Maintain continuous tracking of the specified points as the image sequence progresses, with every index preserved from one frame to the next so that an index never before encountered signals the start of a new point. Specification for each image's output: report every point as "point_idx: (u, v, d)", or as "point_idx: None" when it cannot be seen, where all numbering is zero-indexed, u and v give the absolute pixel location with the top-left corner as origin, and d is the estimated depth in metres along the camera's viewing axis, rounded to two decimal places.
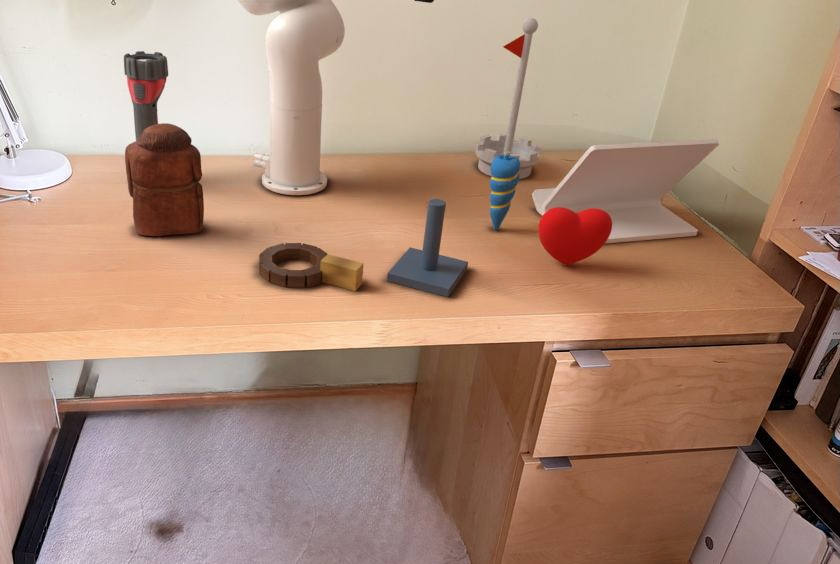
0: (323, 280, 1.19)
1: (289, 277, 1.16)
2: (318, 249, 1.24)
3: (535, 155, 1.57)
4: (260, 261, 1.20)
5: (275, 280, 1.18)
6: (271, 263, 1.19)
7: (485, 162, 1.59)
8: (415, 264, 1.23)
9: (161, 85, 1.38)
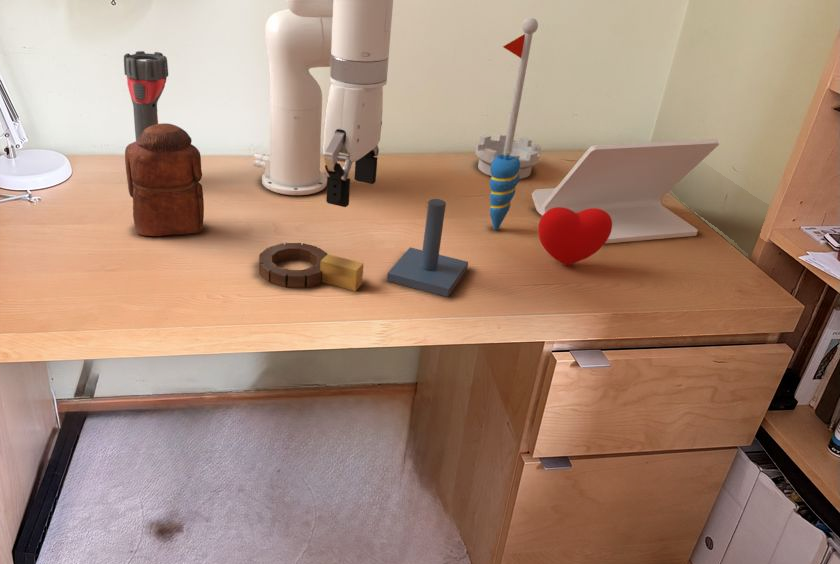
0: (323, 280, 1.19)
1: (289, 277, 1.16)
2: (318, 249, 1.24)
3: (535, 155, 1.57)
4: (260, 261, 1.20)
5: (275, 280, 1.18)
6: (271, 263, 1.19)
7: (485, 162, 1.59)
8: (415, 264, 1.23)
9: (161, 85, 1.38)
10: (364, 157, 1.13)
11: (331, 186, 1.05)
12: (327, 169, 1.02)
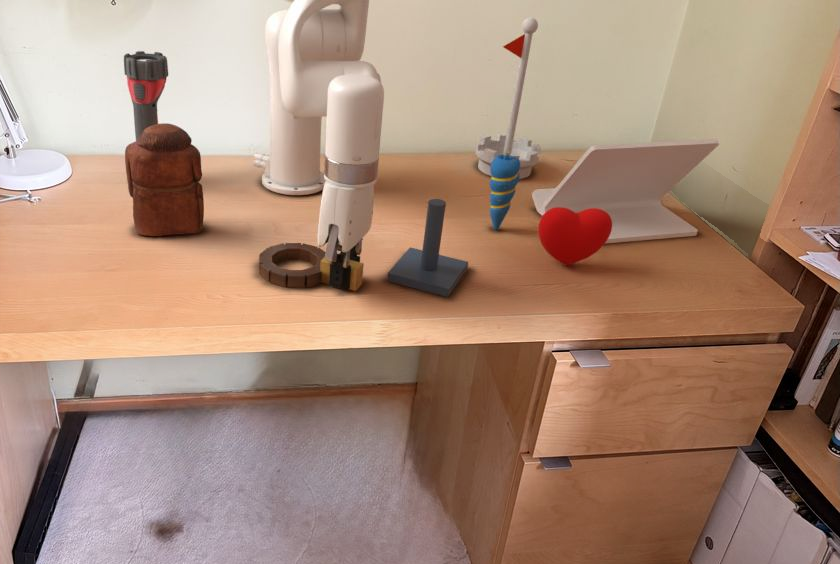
0: (323, 280, 1.19)
1: (289, 277, 1.16)
2: (318, 249, 1.24)
3: (535, 155, 1.57)
4: (260, 261, 1.20)
5: (275, 280, 1.18)
6: (271, 263, 1.19)
7: (485, 162, 1.59)
8: (415, 264, 1.23)
9: (161, 85, 1.38)
10: None
11: (333, 272, 1.16)
12: None
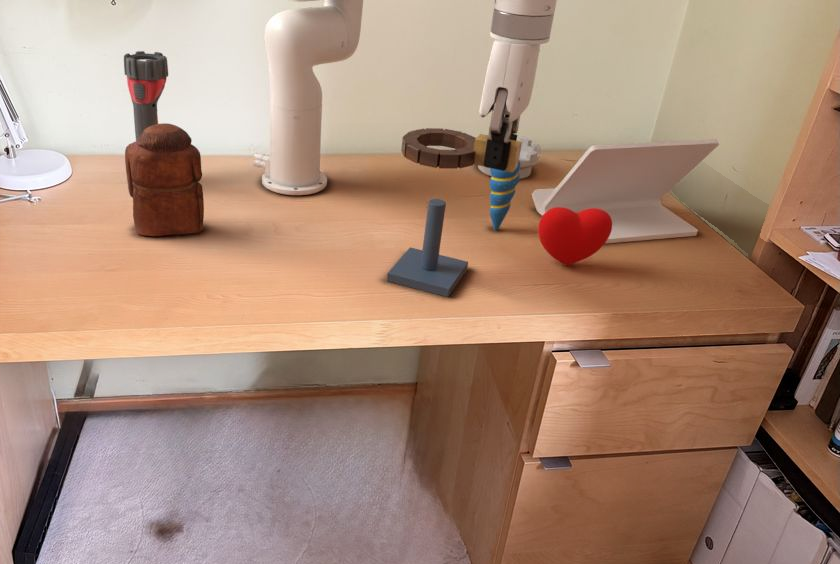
0: (476, 162, 1.09)
1: (442, 156, 1.06)
2: (463, 133, 1.14)
3: (535, 155, 1.57)
4: (406, 142, 1.09)
5: (425, 160, 1.07)
6: (418, 144, 1.09)
7: None
8: (415, 264, 1.23)
9: (161, 85, 1.38)
10: None
11: (491, 149, 1.06)
12: (492, 131, 1.03)
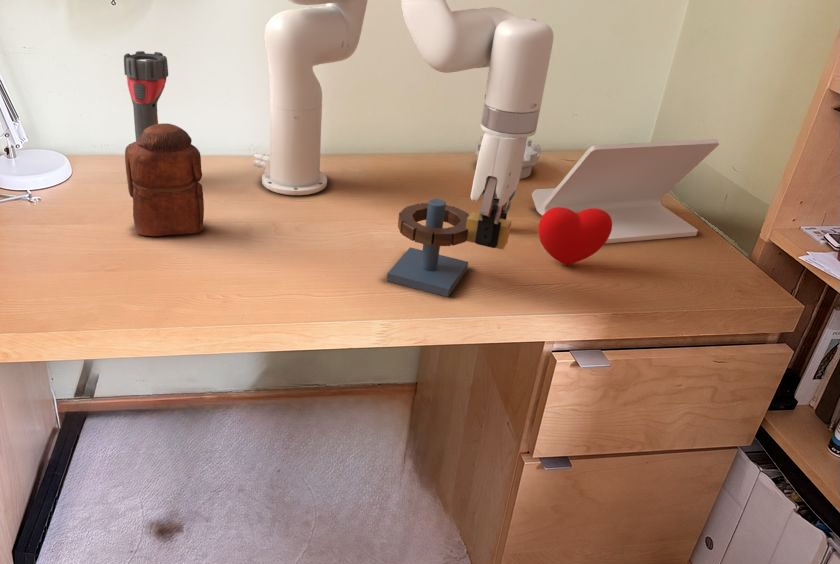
0: (468, 239, 1.15)
1: (436, 235, 1.13)
2: (456, 209, 1.20)
3: (535, 155, 1.57)
4: (402, 220, 1.16)
5: (420, 238, 1.14)
6: (414, 222, 1.16)
7: None
8: (415, 264, 1.23)
9: (161, 85, 1.38)
10: None
11: (482, 229, 1.12)
12: (483, 214, 1.09)
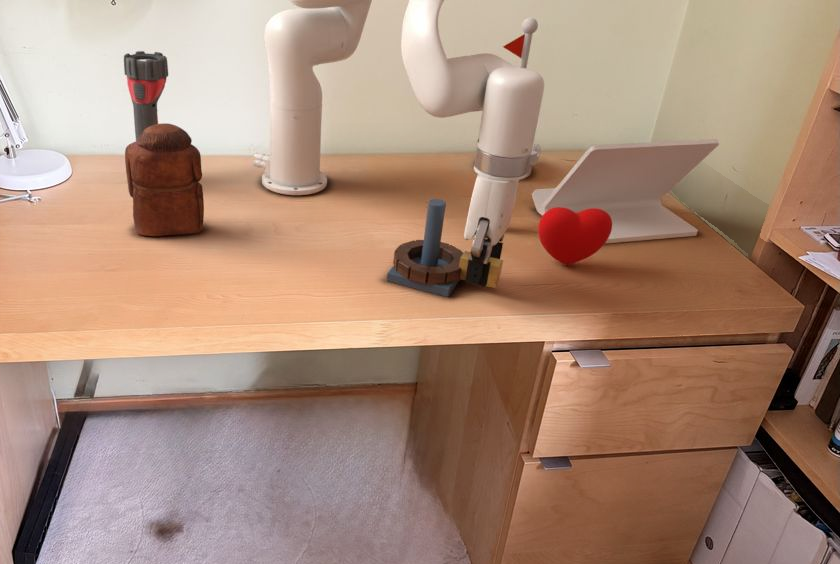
0: (461, 277, 1.19)
1: (430, 274, 1.16)
2: (450, 246, 1.24)
3: (535, 155, 1.57)
4: (397, 258, 1.20)
5: (415, 277, 1.18)
6: (409, 260, 1.19)
7: None
8: None
9: (161, 85, 1.38)
10: (490, 242, 1.19)
11: (472, 268, 1.14)
12: (472, 255, 1.11)
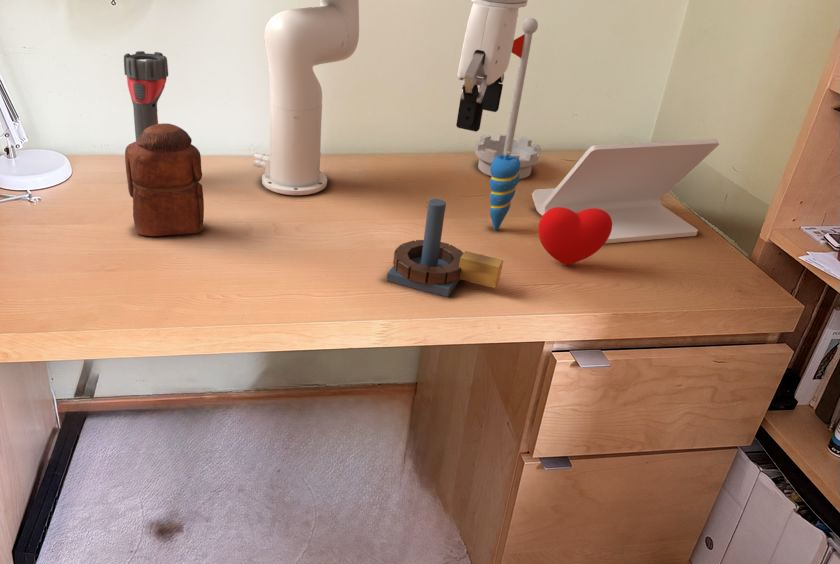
0: (461, 277, 1.19)
1: (430, 274, 1.16)
2: (450, 246, 1.24)
3: (535, 155, 1.57)
4: (397, 258, 1.20)
5: (415, 277, 1.18)
6: (409, 260, 1.19)
7: (485, 162, 1.59)
8: None
9: (161, 85, 1.38)
10: (489, 84, 1.12)
11: (464, 109, 1.05)
12: (464, 91, 1.02)
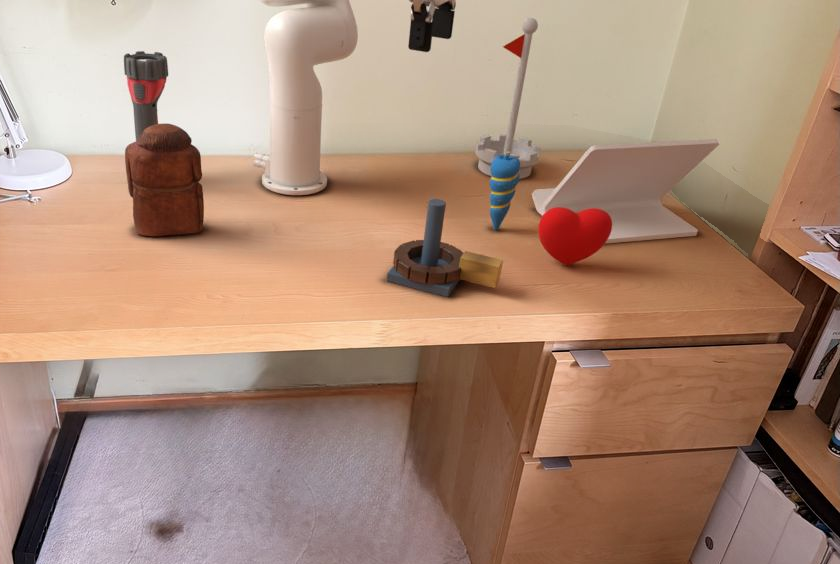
0: (461, 277, 1.19)
1: (430, 274, 1.16)
2: (450, 246, 1.24)
3: (535, 155, 1.57)
4: (397, 258, 1.20)
5: (415, 277, 1.18)
6: (409, 260, 1.19)
7: (485, 162, 1.59)
8: None
9: (161, 85, 1.38)
10: (442, 11, 1.16)
11: (415, 30, 1.09)
12: (413, 9, 1.06)
